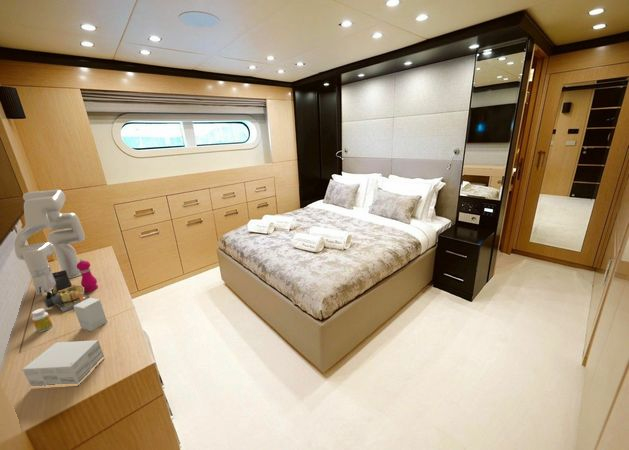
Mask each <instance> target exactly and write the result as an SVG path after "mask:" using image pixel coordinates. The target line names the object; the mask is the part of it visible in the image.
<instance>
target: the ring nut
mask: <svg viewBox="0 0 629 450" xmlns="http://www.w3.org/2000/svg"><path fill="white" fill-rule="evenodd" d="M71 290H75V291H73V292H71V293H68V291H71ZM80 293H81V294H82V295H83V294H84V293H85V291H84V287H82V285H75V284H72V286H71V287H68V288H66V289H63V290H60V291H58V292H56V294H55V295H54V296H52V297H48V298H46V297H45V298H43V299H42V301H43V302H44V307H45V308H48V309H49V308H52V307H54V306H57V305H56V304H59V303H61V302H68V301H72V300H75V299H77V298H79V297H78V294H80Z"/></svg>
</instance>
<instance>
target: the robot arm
mask: <svg viewBox="0 0 629 450" xmlns="http://www.w3.org/2000/svg"><path fill="white" fill-rule="evenodd" d="M22 198H23V200H24V203H23V212H24V213H23V214H24V223H25V225H24V227H22V229H21V230H20V231H19V232H18V234H17V235H16V236H15V238H14V242H13V243H14V254H15V256H16V258H17V259H18V260H21V261H24V262H25V264H26V267H27V269H28V271H29V274H30V276H31V280H32V283H33V287H34V290H35V292H36V295H41V296H42V297H43V298H44V297H45V299H46V298H48V297H52V296H54V295H56V294H55V293H56V292H55V289H54V288H55V287H56V286H55V285H56V282H55V279H54V277H53V275H52V273H53V272H52V268H51V265H50V264H49V260H48V257H51V256H52V255H53V254H55V257H56V259H57V262H58V265H59V266H60V269H61V270H60V271H64V270H66V272H67V275H68V277H69V280H70V279H73V278H78V277H79V276H82V274H81V273H80V271H79V269H77V264H78V263H79V262H80V259H79V257H78V254H77V251H76V249H75V247H74V246H72V245H71V244H75V243H81V242H83V241H85V240H86V234H85V231H84V228H83V225H82V223H81V219H79V216H78V214H76V213H74V212H65V213H63V212H62V213H61V212H60V211H61V210H62V209H63V207H64V205H65V202H66V198H67V197H66V194H65V193H64V192H63V190H61V189H51V190H49V189H48V190H37V191H36V190H35V191H29V192H25V193H23V195H22ZM46 228H47V229H48V230H51V232H49V233H48V234H47V240H48V241H47V242H46V241H45V242H44V241H43V242H40V243H32V244H26V241H27V240H28V239H29V238H30V237H31V236H33V235H35V234H36V233H38V232H40V231H43V230H45V229H46Z"/></svg>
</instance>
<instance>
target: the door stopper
mask: <svg viewBox="0 0 629 450" xmlns="http://www.w3.org/2000/svg"><path fill="white" fill-rule="evenodd" d="M51 273H52V275H53V277H54V279H55V282H56V285H55V286H54V287H55V289H56V293H58V291H60V290H63V289H66V288H68V287H71V286H72V285H73V284H72V282H71V280H70V279H69V277H68V275H67V272H66V270H64V271H62V270H60V271H57V272H51Z"/></svg>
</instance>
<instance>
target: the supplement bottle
mask: <svg viewBox="0 0 629 450" xmlns="http://www.w3.org/2000/svg"><path fill="white" fill-rule="evenodd" d="M31 314H32V318H31V320H32V322H33V324H34V327H35V329H36V331H37V332H39V333H40V332H45V331H47V330H50V329H51V328H52V327H53V322H52V320H51V317H50V314H49V313H48V312H47V311H46V310H45V309H44V308H37V309H35V310H34V311H32V312H31Z"/></svg>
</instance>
